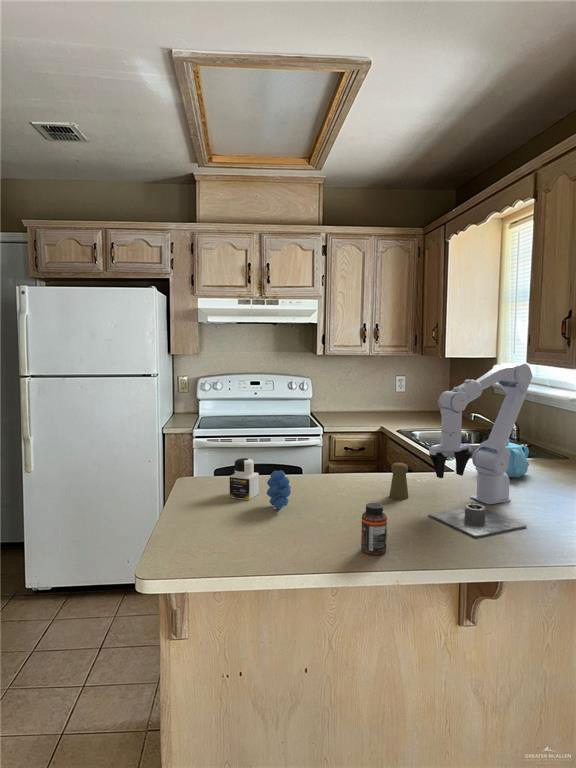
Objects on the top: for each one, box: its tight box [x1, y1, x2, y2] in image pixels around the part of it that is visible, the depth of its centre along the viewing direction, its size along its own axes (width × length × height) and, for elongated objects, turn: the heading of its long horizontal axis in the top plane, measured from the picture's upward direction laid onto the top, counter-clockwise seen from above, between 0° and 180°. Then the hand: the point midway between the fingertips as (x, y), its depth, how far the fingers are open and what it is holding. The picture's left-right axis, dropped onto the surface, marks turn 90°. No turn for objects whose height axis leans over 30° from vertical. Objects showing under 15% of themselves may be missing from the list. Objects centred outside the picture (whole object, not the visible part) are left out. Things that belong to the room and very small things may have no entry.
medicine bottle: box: [229, 457, 260, 501], centre depth 164 cm, size 7×7×12 cm
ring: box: [464, 503, 487, 523], centre depth 142 cm, size 5×5×4 cm
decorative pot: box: [505, 439, 530, 479], centre depth 190 cm, size 16×16×14 cm
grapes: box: [266, 470, 292, 510], centre depth 152 cm, size 12×7×12 cm, turn 31°
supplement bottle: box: [360, 502, 388, 556], centre depth 121 cm, size 6×6×11 cm
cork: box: [388, 462, 410, 501], centre depth 163 cm, size 6×6×11 cm
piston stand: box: [428, 507, 527, 539], centre depth 141 cm, size 18×18×3 cm
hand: (449, 476), depth 153 cm, fingers open, 7 cm apart
